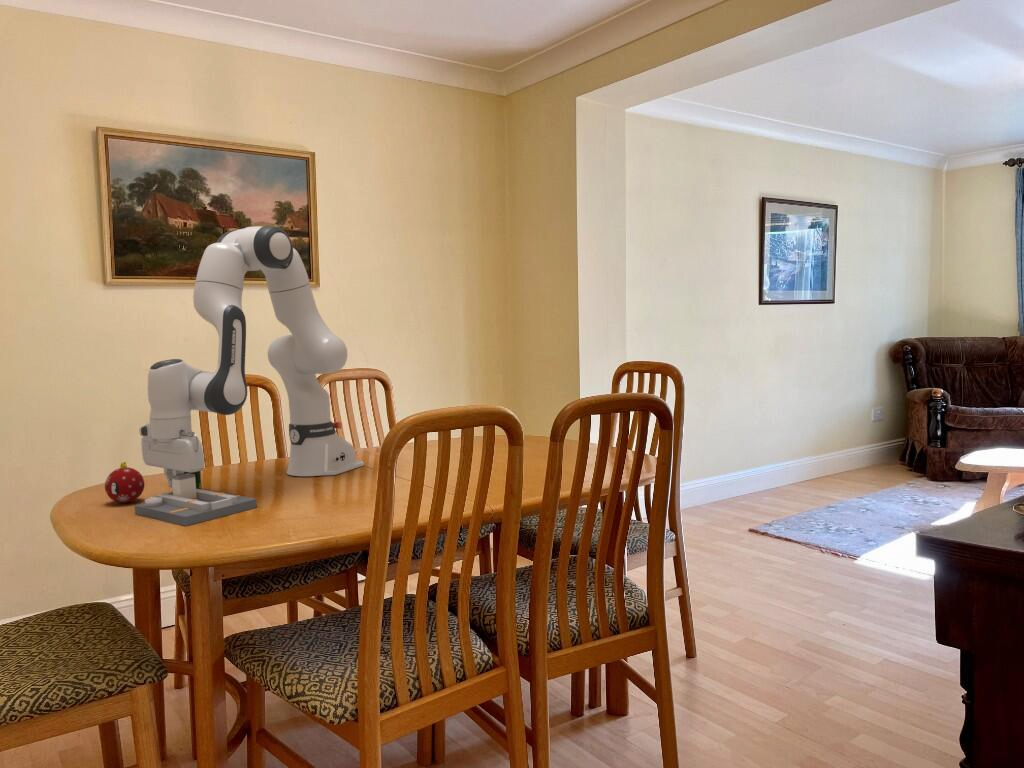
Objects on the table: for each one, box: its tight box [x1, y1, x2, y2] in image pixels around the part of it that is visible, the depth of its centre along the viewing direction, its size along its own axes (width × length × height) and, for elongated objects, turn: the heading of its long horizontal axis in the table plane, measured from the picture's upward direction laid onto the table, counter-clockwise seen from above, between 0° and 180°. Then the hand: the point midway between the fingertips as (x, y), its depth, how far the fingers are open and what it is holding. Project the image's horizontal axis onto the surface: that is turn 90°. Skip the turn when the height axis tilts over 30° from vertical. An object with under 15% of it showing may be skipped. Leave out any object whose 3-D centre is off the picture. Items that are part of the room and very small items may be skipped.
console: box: [134, 489, 258, 527], centre depth 175 cm, size 18×20×4 cm
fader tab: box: [171, 473, 197, 499], centre depth 177 cm, size 4×3×6 cm
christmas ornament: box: [104, 461, 145, 504], centre depth 185 cm, size 9×9×10 cm
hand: (175, 487), depth 179 cm, fingers closed
